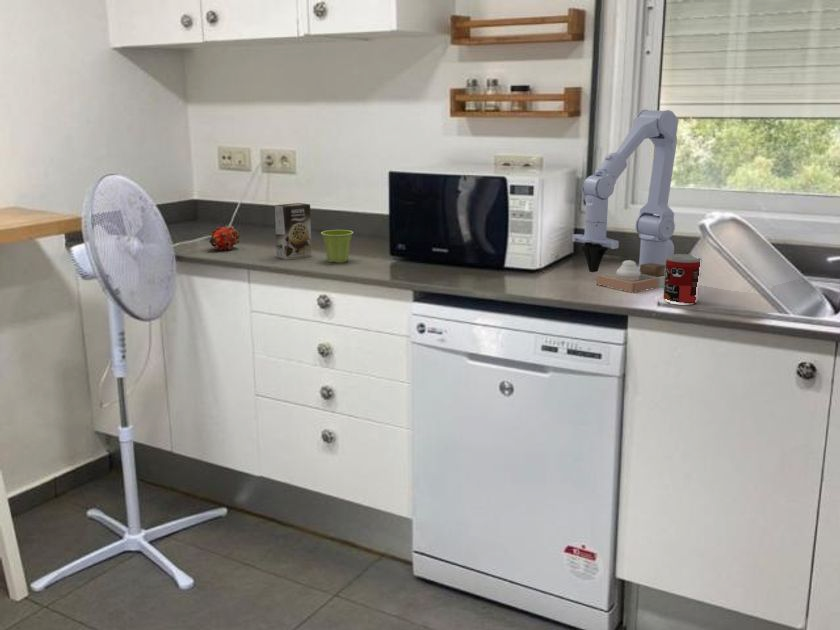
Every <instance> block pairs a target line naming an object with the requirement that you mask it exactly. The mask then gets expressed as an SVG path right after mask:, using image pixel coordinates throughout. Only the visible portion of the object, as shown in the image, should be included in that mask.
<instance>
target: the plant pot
mask: <svg viewBox="0 0 840 630" xmlns="http://www.w3.org/2000/svg"><path fill="white" fill-rule="evenodd" d="M320 234H321V235H322V239H323V242H324V246H325V252H326V253H325V254H326V260H327V262H329V263H338V264H339V263H345V262H347V261H349V257H350V256H349V255H350V247H351V246H350V245H351V240H352V236H353V234H354V231H352V230H348V229H331V230H330V229H329V230H324V231H321V232H320Z"/></svg>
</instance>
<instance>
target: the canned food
mask: <svg viewBox="0 0 840 630" xmlns="http://www.w3.org/2000/svg"><path fill="white" fill-rule="evenodd" d="M692 255H693V254H687V253H684V254H683V253H674V254H672V255H668V256H667V258H666V269H665V284H664V286H663V288H664V289H663V300H664V299H667V300H670V301H676V302H684V303H695V300H696V297H695V295H696V287H697V282H698V276H699V267H700V260H701V261H702V258H701V259H700V258H698V259H697V258H695V257H693V256H692Z"/></svg>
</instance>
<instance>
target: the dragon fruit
mask: <svg viewBox="0 0 840 630" xmlns="http://www.w3.org/2000/svg"><path fill="white" fill-rule="evenodd" d="M234 227H235V226H233V225H231V226H228V227H227V226H226V224H223V226H222V227H221V226H217V227H216V228H215V229H213V230H212V231H211V233H210V236H211V237H210V240H209V243H210V245H211V246H212V247H213V248H214V249H213V251H215V252H217V251H219V252H222V251H223V250H228V251H231V250H232V249H233V248H234V246H235V245H238V244H239V243H240V240H239V239H240V234H239V231H238V230H237V229H236V228H234Z"/></svg>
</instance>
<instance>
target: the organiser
mask: <svg viewBox="0 0 840 630" xmlns="http://www.w3.org/2000/svg"><path fill="white" fill-rule="evenodd" d="M595 280H596V281H595V283H597V284H601V285H605V286H609V287H613V288H617V289H622V290H626V291H630V292H635V291H640V292H642V291H641V290H645V291H647V290H646V289H649V290H652V289H651V288H654V289H658V288H657V287H659V288H662V287H663V288H664V284H665V274H664V276H662V277H654V276H649V275H644V274H641V275H640V277H639V279H638V281H637V282H629V281H624V280H620V279H618V278H615V277H610V276H604V275H601V274H596V279H595ZM613 288H612V289H613ZM617 289H616V290H617ZM626 291H625V292H626ZM630 292H629V293H630ZM635 293H636V292H635Z"/></svg>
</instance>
